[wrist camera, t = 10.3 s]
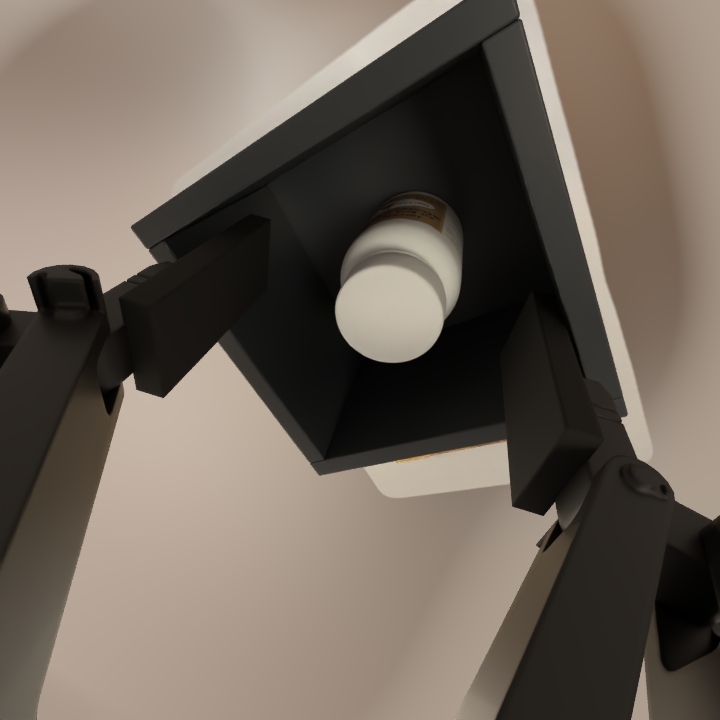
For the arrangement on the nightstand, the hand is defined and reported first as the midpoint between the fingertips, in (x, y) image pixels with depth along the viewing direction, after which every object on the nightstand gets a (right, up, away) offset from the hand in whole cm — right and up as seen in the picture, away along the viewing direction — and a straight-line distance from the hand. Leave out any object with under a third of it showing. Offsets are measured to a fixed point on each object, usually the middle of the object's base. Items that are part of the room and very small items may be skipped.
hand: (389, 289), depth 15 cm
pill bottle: (+1, +3, +5) cm, 6 cm away
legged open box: (+6, +16, +23) cm, 28 cm away
